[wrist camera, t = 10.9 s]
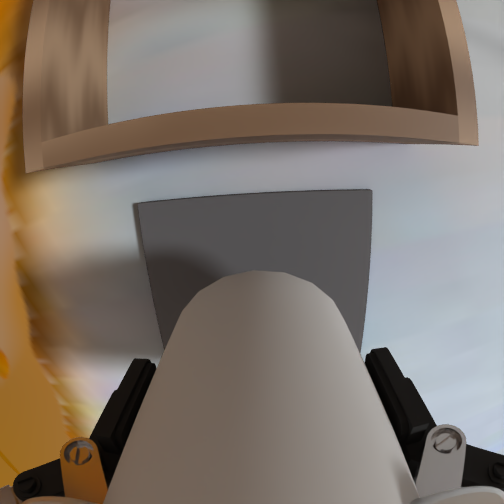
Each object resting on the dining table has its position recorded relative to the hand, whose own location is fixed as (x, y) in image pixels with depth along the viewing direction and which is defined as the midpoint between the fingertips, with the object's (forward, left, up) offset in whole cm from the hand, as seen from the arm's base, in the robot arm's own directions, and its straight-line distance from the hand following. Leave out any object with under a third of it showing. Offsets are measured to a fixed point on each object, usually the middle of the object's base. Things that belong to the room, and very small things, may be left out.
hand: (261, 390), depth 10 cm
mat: (0, 0, -7) cm, 7 cm away
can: (0, 0, -4) cm, 4 cm away
